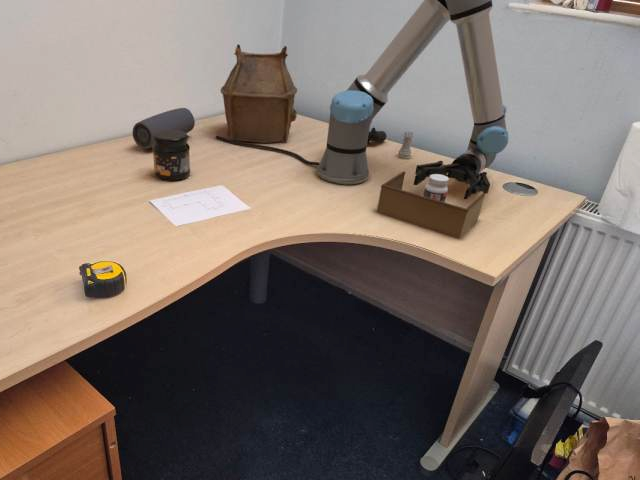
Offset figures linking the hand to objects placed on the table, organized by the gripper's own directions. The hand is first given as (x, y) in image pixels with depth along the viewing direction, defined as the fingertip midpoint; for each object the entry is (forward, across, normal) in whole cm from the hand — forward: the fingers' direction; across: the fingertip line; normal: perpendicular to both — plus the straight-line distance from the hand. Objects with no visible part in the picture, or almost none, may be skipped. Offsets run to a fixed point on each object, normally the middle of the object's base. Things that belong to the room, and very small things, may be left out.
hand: (440, 187), depth 135 cm
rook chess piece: (-34, +24, -7) cm, 43 cm away
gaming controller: (-39, +43, -7) cm, 58 cm away
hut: (-18, +74, -7) cm, 76 cm away
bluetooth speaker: (+11, +91, -7) cm, 92 cm away
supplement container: (+30, +68, -7) cm, 75 cm away
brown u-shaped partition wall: (+5, 0, -7) cm, 8 cm away
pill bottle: (+3, 0, -7) cm, 7 cm away
